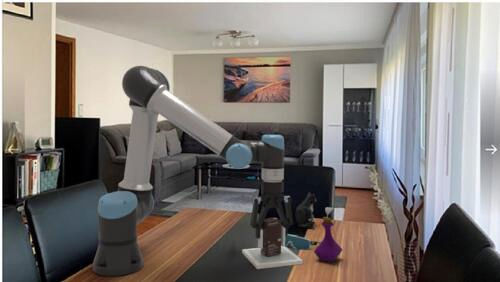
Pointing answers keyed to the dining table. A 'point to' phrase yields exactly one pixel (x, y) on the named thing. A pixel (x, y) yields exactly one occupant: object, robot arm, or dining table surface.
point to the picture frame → (271, 258)
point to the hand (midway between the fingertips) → (271, 246)
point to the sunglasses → (299, 242)
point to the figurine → (306, 212)
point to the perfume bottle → (328, 241)
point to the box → (271, 237)
